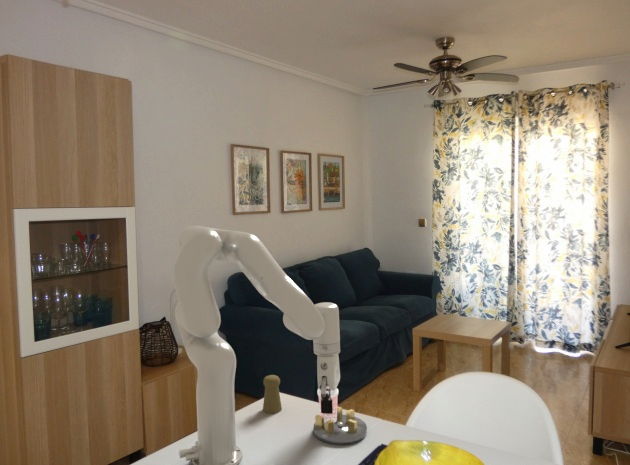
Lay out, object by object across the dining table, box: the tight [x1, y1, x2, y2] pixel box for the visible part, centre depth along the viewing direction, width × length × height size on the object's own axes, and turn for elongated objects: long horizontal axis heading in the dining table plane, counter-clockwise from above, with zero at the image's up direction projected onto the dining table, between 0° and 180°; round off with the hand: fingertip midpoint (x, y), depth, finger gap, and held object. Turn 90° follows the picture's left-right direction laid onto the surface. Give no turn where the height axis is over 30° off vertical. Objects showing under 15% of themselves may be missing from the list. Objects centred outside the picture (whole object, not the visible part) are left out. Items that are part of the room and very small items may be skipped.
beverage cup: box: [316, 387, 339, 423], centre depth 145 cm, size 6×6×14 cm
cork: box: [262, 374, 283, 415], centre depth 159 cm, size 6×6×11 cm
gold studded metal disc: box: [313, 405, 368, 446], centre depth 144 cm, size 15×15×5 cm
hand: (329, 407), depth 146 cm, fingers closed on beverage cup, 6 cm apart
